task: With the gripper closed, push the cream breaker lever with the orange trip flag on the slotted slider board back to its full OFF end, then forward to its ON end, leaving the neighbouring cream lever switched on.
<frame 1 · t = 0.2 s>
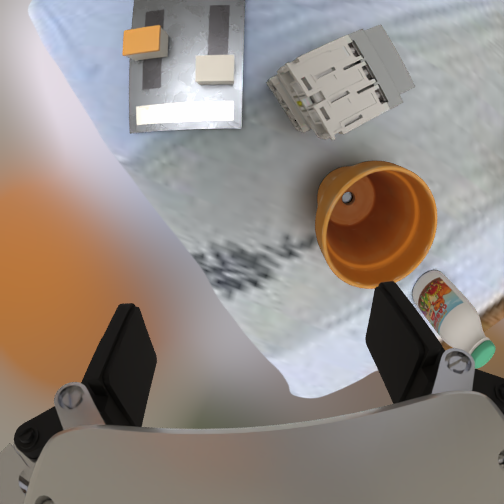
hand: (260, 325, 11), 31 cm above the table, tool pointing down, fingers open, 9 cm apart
tripped lever: (146, 43, 26), point 5 cm above the table, slide at 4.0 cm
slotted slider board: (188, 48, 31), on the table
on lever: (215, 70, 28), point 5 cm above the table, slide at 8.0 cm
circuit breaker: (326, 81, 34), on the table
flower pot: (345, 196, 41), on the table
milk bottle: (427, 286, 49), on the table
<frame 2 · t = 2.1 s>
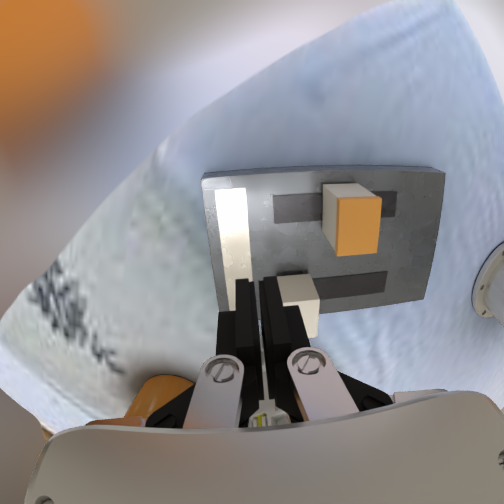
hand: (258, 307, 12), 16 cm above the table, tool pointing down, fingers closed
tripped lever: (349, 216, 22), point 5 cm above the table, slide at 4.0 cm
slotted slider board: (329, 238, 28), on the table
on lever: (296, 306, 25), point 5 cm above the table, slide at 8.0 cm
circuit breaker: (288, 369, 36), on the table
flower pot: (173, 392, 38), on the table
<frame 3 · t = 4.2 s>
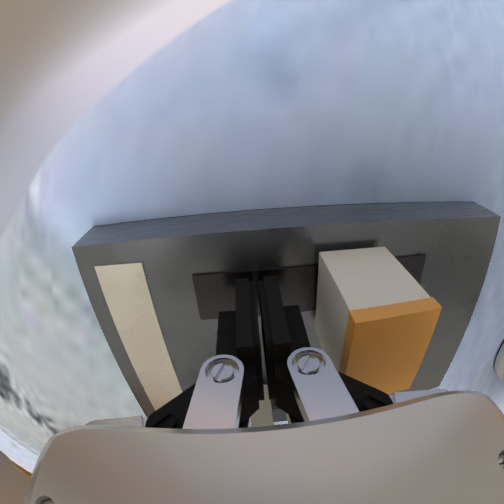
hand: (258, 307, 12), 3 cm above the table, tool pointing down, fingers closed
tripped lever: (366, 321, 11), point 5 cm above the table, slide at 2.7 cm, touching gripper
slotted slider board: (305, 321, 17), on the table
on lever: (245, 432, 15), point 5 cm above the table, slide at 8.0 cm
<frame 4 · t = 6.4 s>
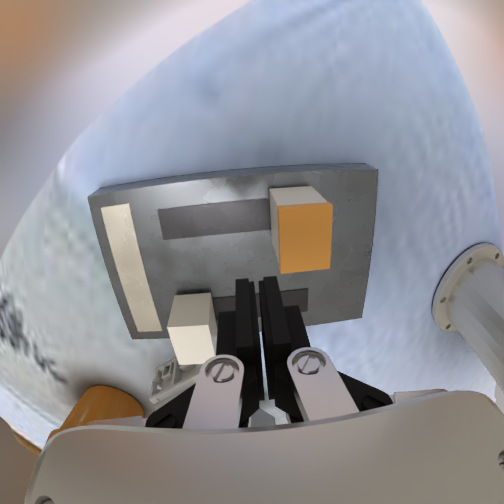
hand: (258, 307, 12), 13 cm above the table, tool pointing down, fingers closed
tripped lever: (298, 226, 19), point 5 cm above the table, slide at -0.1 cm
slotted slider board: (238, 251, 26), on the table
on lever: (194, 328, 23), point 5 cm above the table, slide at 8.0 cm
circuit breaker: (219, 385, 34), on the table
flower pot: (113, 402, 35), on the table
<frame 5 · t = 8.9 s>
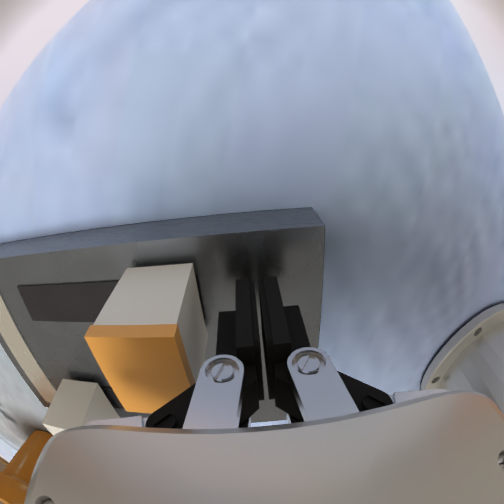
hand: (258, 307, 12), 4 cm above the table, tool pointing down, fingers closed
tripped lever: (157, 337, 11), point 5 cm above the table, slide at 0.1 cm, touching gripper
slotted slider board: (132, 331, 17), on the table
on lever: (83, 421, 15), point 5 cm above the table, slide at 8.0 cm
flower pot: (61, 446, 27), on the table
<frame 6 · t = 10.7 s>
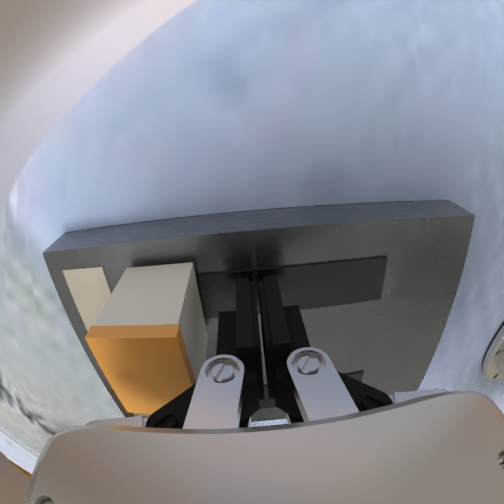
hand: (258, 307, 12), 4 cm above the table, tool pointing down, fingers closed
tripped lever: (158, 337, 11), point 5 cm above the table, slide at 8.7 cm, touching gripper
slotted slider board: (270, 323, 18), on the table
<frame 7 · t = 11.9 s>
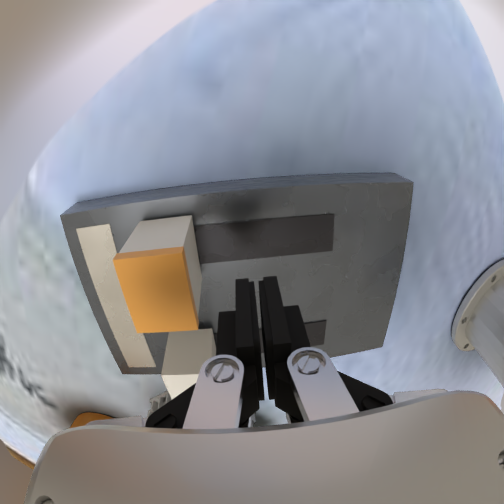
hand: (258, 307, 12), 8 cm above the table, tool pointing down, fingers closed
tripped lever: (164, 271, 15), point 5 cm above the table, slide at 8.1 cm
slotted slider board: (244, 277, 21), on the table
on lever: (194, 371, 19), point 5 cm above the table, slide at 8.0 cm
circuit breaker: (221, 414, 30), on the table
flower pot: (107, 428, 31), on the table
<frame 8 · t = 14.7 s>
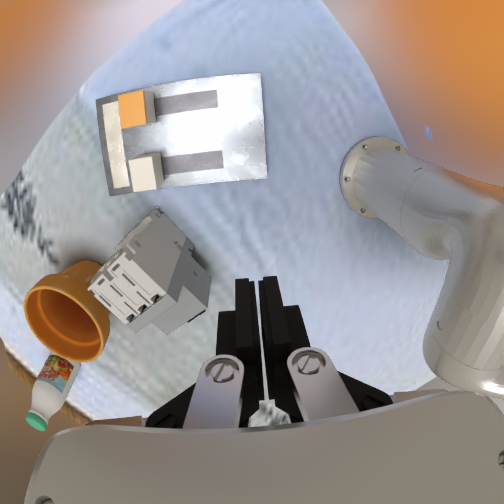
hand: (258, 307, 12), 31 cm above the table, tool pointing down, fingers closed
tripped lever: (137, 109, 31), point 5 cm above the table, slide at 8.1 cm
slotted slider board: (181, 132, 38), on the table
on lever: (147, 171, 35), point 5 cm above the table, slide at 8.0 cm
circuit breaker: (172, 253, 46), on the table
flower pot: (92, 281, 47), on the table
milk bottle: (66, 357, 56), on the table
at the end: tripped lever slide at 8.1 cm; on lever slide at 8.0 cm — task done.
